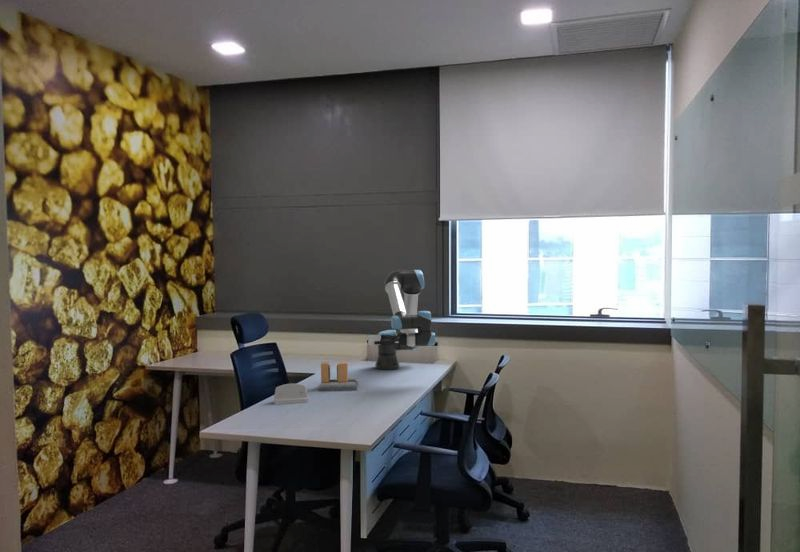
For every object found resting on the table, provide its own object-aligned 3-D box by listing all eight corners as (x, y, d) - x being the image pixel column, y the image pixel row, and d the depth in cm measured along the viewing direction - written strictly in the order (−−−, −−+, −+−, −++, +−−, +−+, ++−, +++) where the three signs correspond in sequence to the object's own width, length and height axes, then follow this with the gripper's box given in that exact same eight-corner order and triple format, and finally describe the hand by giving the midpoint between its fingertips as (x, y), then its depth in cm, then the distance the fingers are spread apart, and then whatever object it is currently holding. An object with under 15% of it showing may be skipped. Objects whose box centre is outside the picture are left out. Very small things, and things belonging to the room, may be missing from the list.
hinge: (273, 404, 281) (273, 383, 283) (274, 405, 285) (274, 385, 288) (308, 402, 283) (307, 382, 286) (308, 403, 288) (307, 383, 291)
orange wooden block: (338, 383, 315) (337, 361, 315) (347, 383, 315) (347, 361, 315) (337, 385, 310) (336, 363, 310) (347, 385, 310) (346, 363, 310)
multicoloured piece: (321, 384, 320) (321, 360, 319) (358, 383, 320) (357, 359, 319) (318, 390, 306) (317, 365, 305) (356, 390, 306) (356, 365, 305)
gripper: (407, 351, 304) (367, 351, 304) (406, 341, 329) (370, 342, 328) (407, 337, 303) (367, 337, 303) (406, 329, 328) (369, 329, 328)
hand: (368, 340), depth 316 cm, fingers open, 13 cm apart
